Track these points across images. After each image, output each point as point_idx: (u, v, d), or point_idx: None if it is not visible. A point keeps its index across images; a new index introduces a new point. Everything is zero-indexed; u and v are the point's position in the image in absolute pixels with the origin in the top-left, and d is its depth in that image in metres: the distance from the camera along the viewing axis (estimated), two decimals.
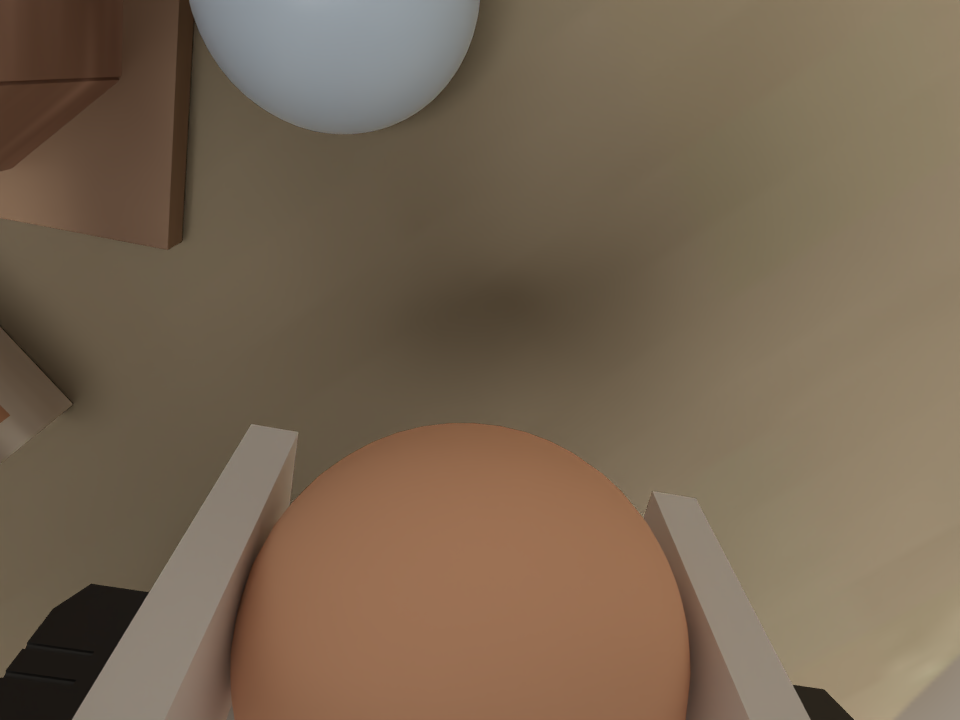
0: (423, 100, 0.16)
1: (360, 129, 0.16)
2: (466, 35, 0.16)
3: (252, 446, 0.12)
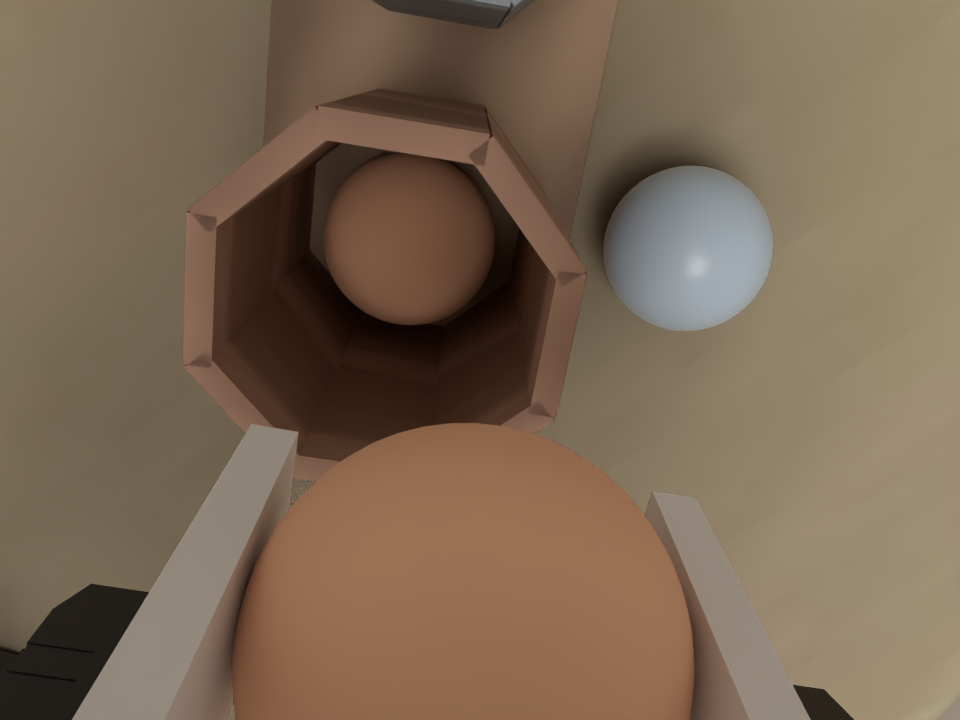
0: None
1: None
2: None
3: (252, 446, 0.12)
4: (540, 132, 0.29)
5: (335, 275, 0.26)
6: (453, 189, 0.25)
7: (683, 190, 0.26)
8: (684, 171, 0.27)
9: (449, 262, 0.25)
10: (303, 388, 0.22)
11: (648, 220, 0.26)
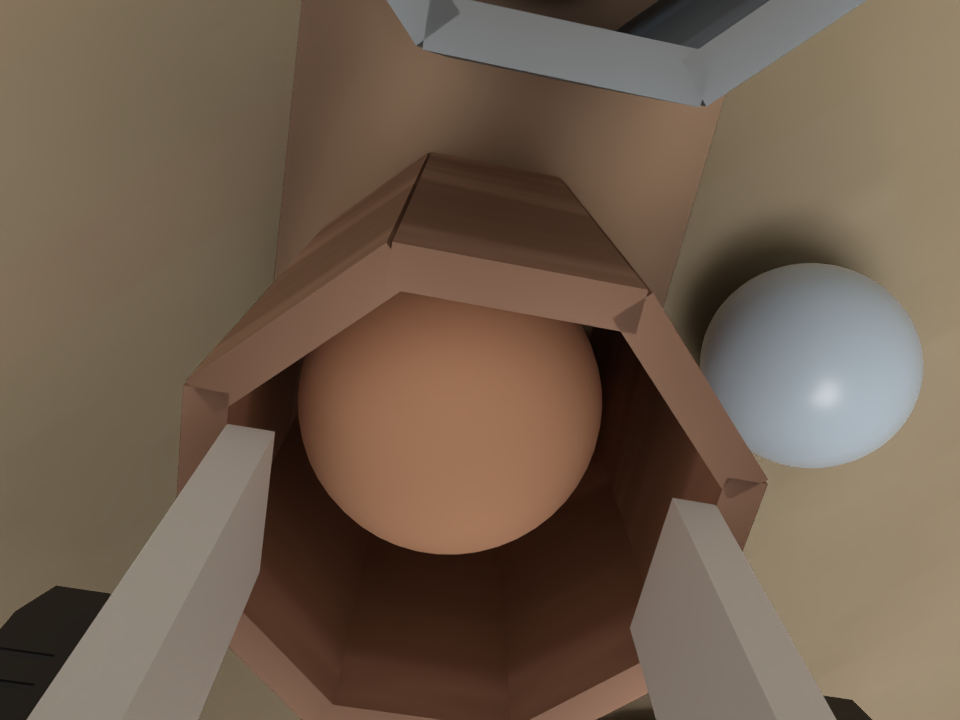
0: None
1: None
2: None
3: (228, 445, 0.11)
4: (627, 212, 0.23)
5: None
6: None
7: (820, 302, 0.20)
8: (816, 274, 0.21)
9: None
10: (333, 575, 0.17)
11: (773, 339, 0.20)
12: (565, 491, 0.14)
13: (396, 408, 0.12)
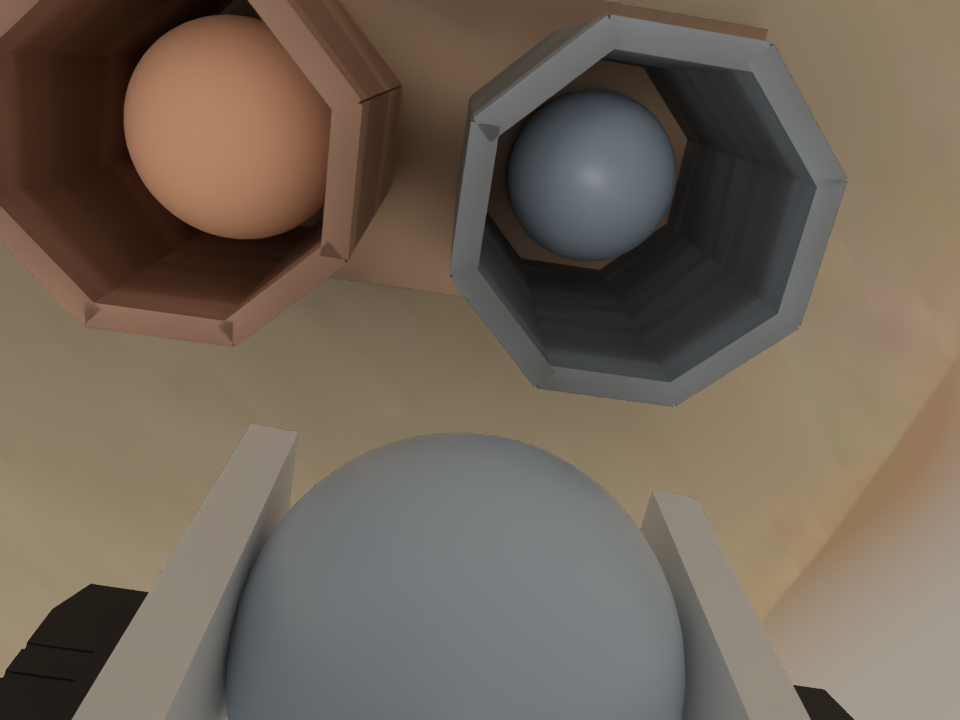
0: None
1: None
2: None
3: (253, 446, 0.12)
4: (370, 239, 0.31)
5: None
6: None
7: (668, 708, 0.09)
8: None
9: None
10: (68, 36, 0.20)
11: (594, 637, 0.08)
12: (219, 220, 0.20)
13: (289, 98, 0.19)
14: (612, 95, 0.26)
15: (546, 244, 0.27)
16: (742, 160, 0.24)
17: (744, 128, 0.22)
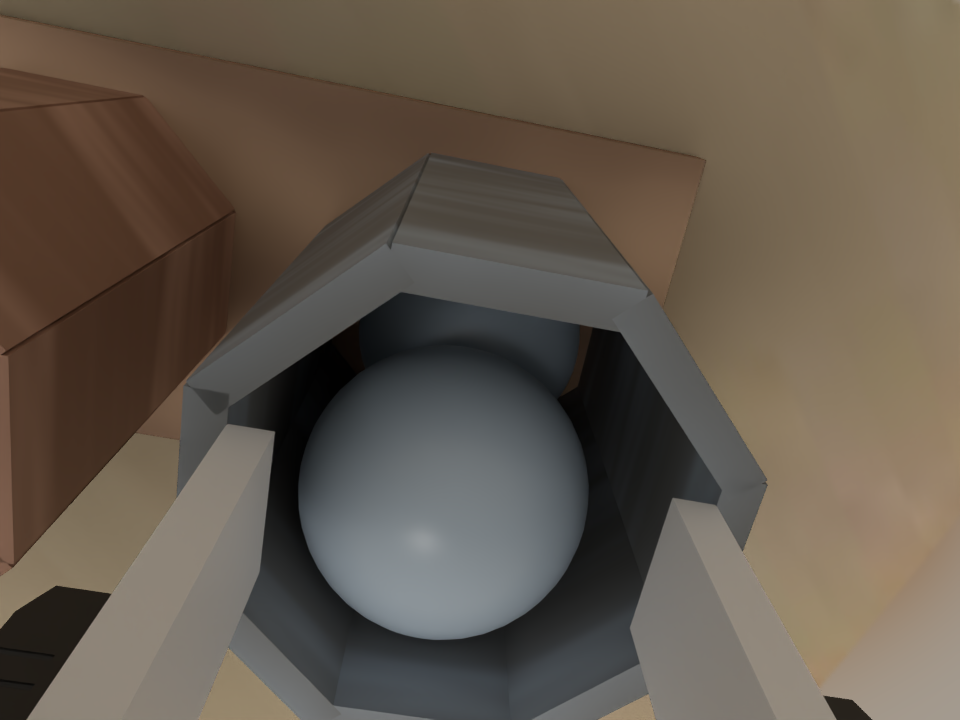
0: None
1: None
2: None
3: (228, 446, 0.11)
4: None
5: None
6: None
7: (550, 569, 0.14)
8: (581, 527, 0.15)
9: None
10: None
11: (496, 549, 0.13)
12: None
13: None
14: None
15: None
16: None
17: None
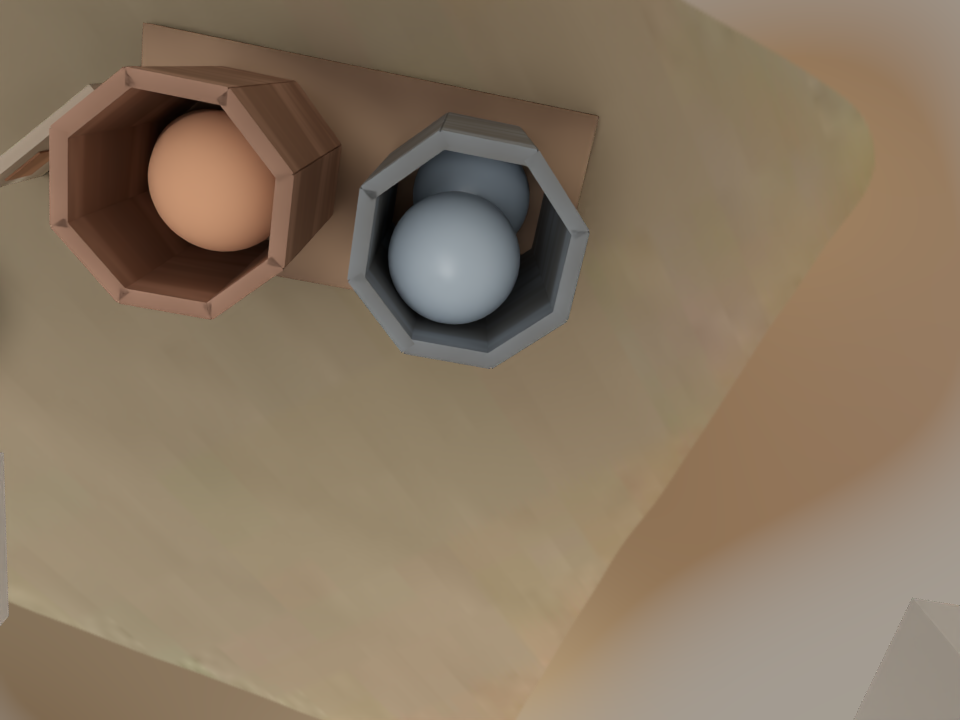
0: None
1: None
2: None
3: None
4: (317, 251, 0.43)
5: (175, 122, 0.37)
6: None
7: (495, 295, 0.33)
8: (512, 278, 0.34)
9: None
10: (115, 121, 0.32)
11: (468, 285, 0.32)
12: (206, 239, 0.32)
13: (251, 167, 0.31)
14: None
15: None
16: None
17: None
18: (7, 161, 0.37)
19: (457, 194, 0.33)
